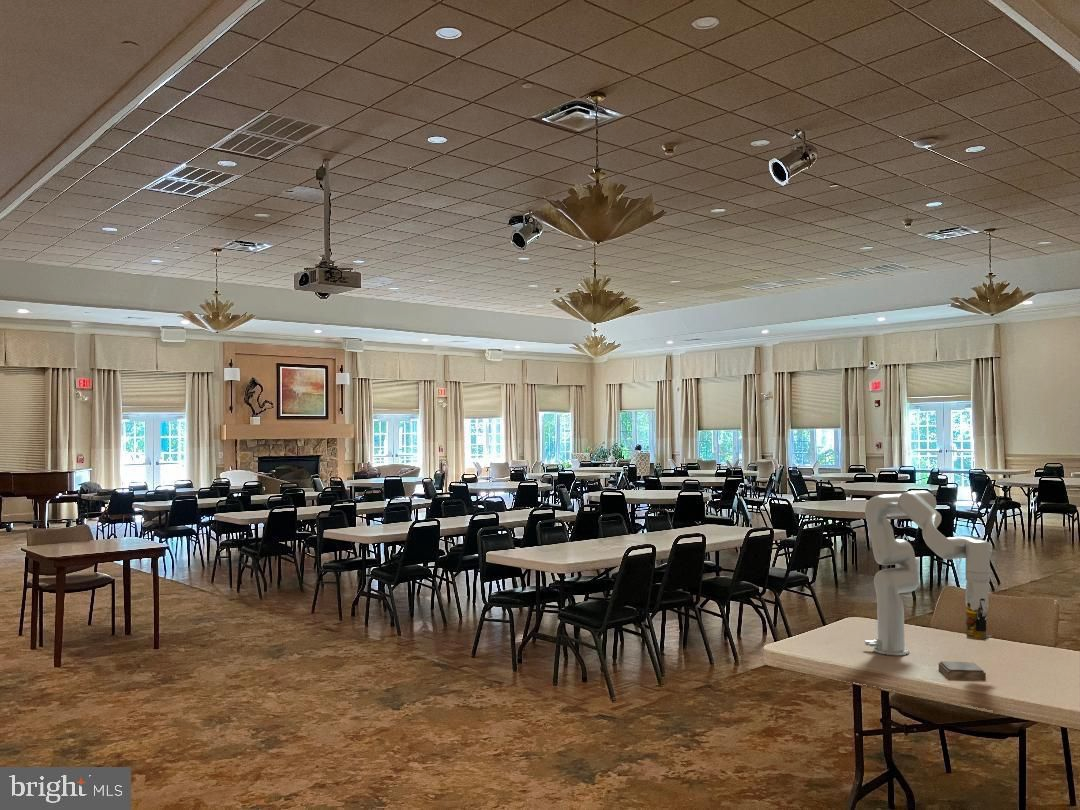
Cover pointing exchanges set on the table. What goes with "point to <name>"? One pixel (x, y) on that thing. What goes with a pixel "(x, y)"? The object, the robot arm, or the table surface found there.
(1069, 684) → the table surface
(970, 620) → the condiment
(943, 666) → the pedestal
